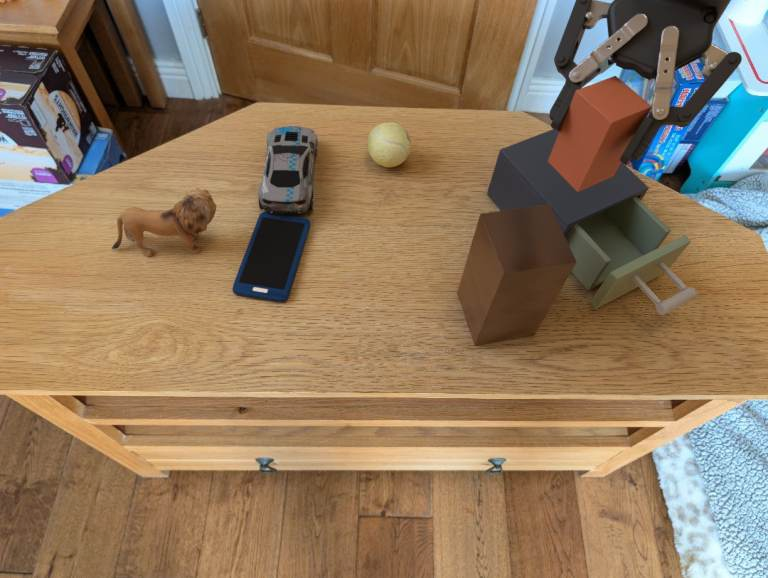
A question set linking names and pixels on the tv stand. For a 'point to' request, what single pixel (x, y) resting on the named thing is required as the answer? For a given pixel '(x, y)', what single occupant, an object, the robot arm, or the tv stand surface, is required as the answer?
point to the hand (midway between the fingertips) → (589, 144)
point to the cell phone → (272, 257)
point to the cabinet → (555, 184)
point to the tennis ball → (389, 144)
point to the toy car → (289, 171)
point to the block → (597, 132)
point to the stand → (513, 273)
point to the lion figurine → (169, 221)
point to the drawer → (626, 254)
